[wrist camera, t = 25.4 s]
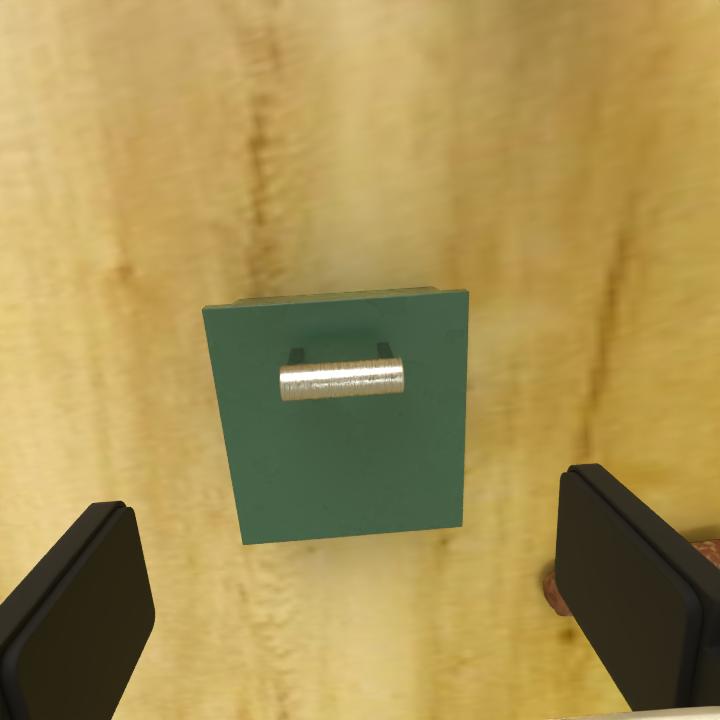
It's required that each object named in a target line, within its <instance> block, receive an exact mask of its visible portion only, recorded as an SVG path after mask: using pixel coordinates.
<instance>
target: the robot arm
mask: <svg viewBox="0 0 720 720" xmlns="http://www.w3.org/2000/svg"><path fill="white" fill-rule="evenodd" d="M555 583H556V587H557V589H558V592H559V594H560V595H561V597H562V599H563V600H564V602H565V604H566V605H567V607H568V608H569V610H570V612H571V613H572V615H573V616H574V618H575V620H576V621H577V623H578V624H579V626H580V628H581V629H582V631H583V632H584V634H585V636H586V637H587V639H588V640H589V642H590V644H591V645H592V647H593V648H594V650H595V652H596V653H597V655H598V657H599V658H600V660H601V661H602V663H603V665H604V666H605V668H606V669H607V671H608V673H609V674H610V676H611V677H612V679H613V681H614V682H615V684H616V685H617V687H618V689H619V690H620V692H621V693H622V695H623V697H624V698H625V700H626V702H627V703H628V705H629V706H630V708H631V710H632V711H633V712H623V713H609V714H598V715H587V716H576V717H565V718H554V719H543V720H720V569H719V568H718V567H716V566H715V565H714V564H713V563H712V562H711V561H710V560H708V559H707V558H706V557H705V556H704V555H703V554H702V553H700V552H699V551H698V550H697V549H696V548H695V547H694V546H692V545H691V544H690V543H689V542H688V541H687V540H686V539H684V538H683V537H682V536H681V535H680V534H679V533H678V532H676V531H675V530H674V529H673V528H672V527H671V526H670V525H668V524H667V523H666V522H665V521H664V520H663V519H662V518H660V517H659V516H658V515H657V514H656V513H655V512H654V511H652V510H651V509H650V508H649V507H648V506H647V505H646V504H644V503H643V502H642V501H641V500H640V499H639V498H638V497H636V496H635V495H634V494H633V493H632V492H631V491H630V490H628V489H627V488H626V487H625V486H624V485H623V484H622V483H620V482H619V481H618V480H617V479H616V478H615V477H614V476H612V475H611V474H610V473H609V472H608V471H607V470H606V469H604V468H603V467H602V466H601V465H599V464H582V465H571V466H570V467H569V468H568V470H567V472H565V473H562V475H561V478H560V490H559V507H558V524H557V540H556V557H555ZM154 622H155V608H154V603H153V598H152V593H151V588H150V584H149V579H148V574H147V569H146V564H145V560H144V555H143V550H142V545H141V541H140V536H139V531H138V526H137V521H136V517H135V512H134V510H133V508H131V507H126V505H125V503H124V502H122V501H112V502H99V503H92V504H91V505H90V506H89V507H88V508H87V509H86V510H85V511H84V512H83V514H82V515H81V516H80V517H79V518H78V519H77V520H76V521H75V522H74V524H73V525H72V526H71V527H70V528H69V529H68V530H67V531H66V532H65V534H64V535H63V536H62V537H61V538H60V539H59V540H58V541H57V543H56V544H55V545H54V546H53V547H52V548H51V549H50V550H49V551H48V553H47V554H46V555H45V556H44V557H43V558H42V559H41V560H40V562H39V563H38V564H37V565H36V566H35V567H34V568H33V569H32V570H31V572H30V573H29V574H28V575H27V576H26V577H25V578H24V579H23V580H22V582H21V583H20V584H19V585H18V586H17V587H16V588H15V589H14V591H13V592H12V593H11V594H10V595H9V596H8V597H7V598H6V599H5V601H4V602H3V603H2V604H1V605H0V720H111V719H112V717H113V714H114V712H115V710H116V708H117V706H118V704H119V701H120V699H121V697H122V695H123V693H124V690H125V688H126V686H127V684H128V682H129V680H130V677H131V675H132V673H133V671H134V669H135V666H136V664H137V662H138V660H139V658H140V656H141V653H142V651H143V649H144V647H145V645H146V642H147V640H148V638H149V636H150V634H151V632H152V629H153V626H154Z"/></svg>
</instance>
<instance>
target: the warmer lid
mask: <svg viewBox="0 0 720 720" xmlns="http://www.w3.org/2000/svg"><path fill="white" fill-rule="evenodd" d="M468 312H469V291H467V290H466V289H457V290H442V291H426V292H411V293H395V294H380V295H365V296H349V297H334V298H319V299H303V300H288V301H272V302H257V303H242V304H226V305H211V306H205V307H204V308H203V309H202V313H203V318H204V324H205V330H206V336H207V341H208V347H209V353H210V359H211V364H212V370H213V376H214V382H215V387H216V393H217V399H218V405H219V410H220V416H221V422H222V428H223V433H224V439H225V445H226V451H227V456H228V462H229V468H230V474H231V479H232V485H233V491H234V497H235V502H236V508H237V514H238V520H239V525H240V531H241V537H242V543H243V545H251V544H263V543H274V542H286V541H298V540H310V539H322V538H334V537H346V536H358V535H370V534H382V533H394V532H405V531H417V530H429V529H441V528H453V527H462V523H463V488H464V452H465V417H466V382H467V347H468Z"/></svg>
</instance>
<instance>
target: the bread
mask: <svg viewBox="0 0 720 720" xmlns="http://www.w3.org/2000/svg"><path fill="white" fill-rule="evenodd" d="M690 544H691V545H692V546H694V547H695V548H696V549H697V550H698V551H699V552H700V553H702V554H703V555H704V556H705V557H706V558H707V559H708V560H710V561H711V562H712V563H713V564H714V565H715V566H716V567H718V568H719V569H720V539H716V540H708V541H704V542H696V543H690ZM543 590H544V596H545V598H546V599H547V601H548V603H549V604H550V606H551V607H552V608H553V609H554V610H555V612H556V613H557V614H558V615H560V616H573V615H572V613H571V612H570V610H569V608H568V607H567V605H566V604H565V602H564V600H563V599H562V597H561V595H560V594H559V592H558V589H557V587H556V583H555V571H554V572H551V573H550V574H549V575H548V576H547V577H546V578H545V580H544V583H543Z"/></svg>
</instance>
